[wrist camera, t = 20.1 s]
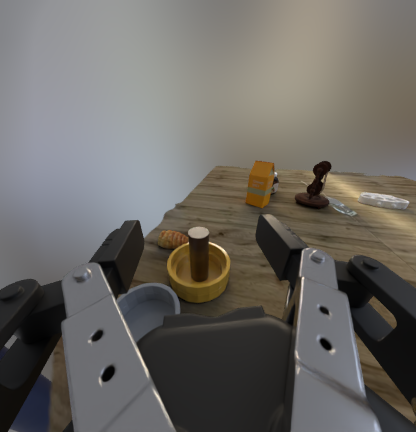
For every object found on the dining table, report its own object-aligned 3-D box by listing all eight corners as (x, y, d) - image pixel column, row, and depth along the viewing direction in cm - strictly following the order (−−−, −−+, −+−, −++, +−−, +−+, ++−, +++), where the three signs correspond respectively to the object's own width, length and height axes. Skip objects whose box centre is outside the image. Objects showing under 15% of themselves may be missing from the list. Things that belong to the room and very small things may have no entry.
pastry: (191, 238, 53) (190, 229, 52) (185, 252, 48) (184, 242, 46) (164, 235, 55) (163, 226, 53) (156, 248, 49) (154, 238, 47)
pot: (126, 402, 21) (116, 390, 19) (99, 330, 29) (89, 315, 27) (195, 329, 29) (194, 313, 27) (159, 287, 37) (156, 272, 35)
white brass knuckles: (394, 201, 83) (411, 212, 71) (352, 195, 89) (361, 205, 78) (398, 195, 81) (416, 206, 70) (355, 189, 88) (364, 199, 76)
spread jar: (260, 195, 88) (263, 174, 83) (254, 188, 98) (257, 169, 93) (281, 195, 89) (286, 174, 83) (273, 188, 99) (277, 169, 93)
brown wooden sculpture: (323, 212, 71) (342, 167, 61) (289, 203, 79) (301, 162, 70) (330, 203, 80) (347, 162, 70) (299, 195, 89) (310, 158, 79)
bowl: (197, 319, 31) (196, 302, 28) (158, 276, 40) (154, 260, 37) (240, 275, 40) (242, 259, 37) (200, 248, 49) (200, 234, 46)
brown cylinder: (199, 285, 37) (197, 241, 30) (187, 274, 39) (183, 232, 33) (212, 274, 40) (213, 232, 33) (200, 265, 42) (199, 224, 36)
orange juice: (262, 208, 74) (270, 164, 64) (245, 203, 79) (251, 161, 70) (268, 203, 79) (277, 161, 70) (252, 198, 84) (259, 159, 75)
